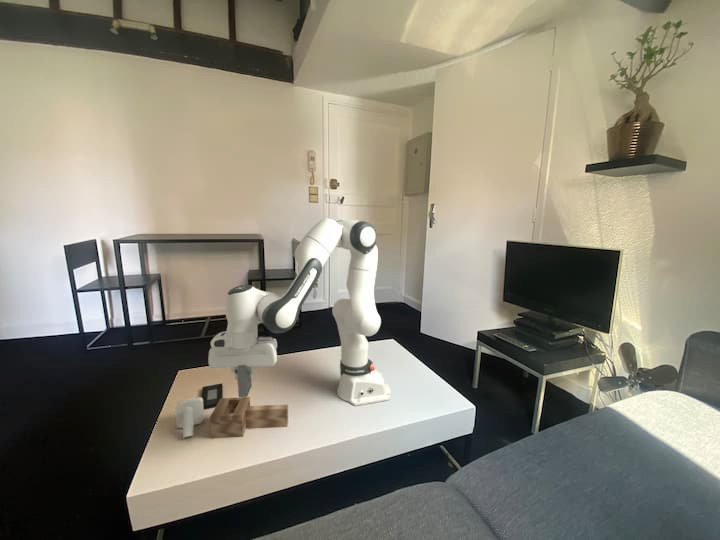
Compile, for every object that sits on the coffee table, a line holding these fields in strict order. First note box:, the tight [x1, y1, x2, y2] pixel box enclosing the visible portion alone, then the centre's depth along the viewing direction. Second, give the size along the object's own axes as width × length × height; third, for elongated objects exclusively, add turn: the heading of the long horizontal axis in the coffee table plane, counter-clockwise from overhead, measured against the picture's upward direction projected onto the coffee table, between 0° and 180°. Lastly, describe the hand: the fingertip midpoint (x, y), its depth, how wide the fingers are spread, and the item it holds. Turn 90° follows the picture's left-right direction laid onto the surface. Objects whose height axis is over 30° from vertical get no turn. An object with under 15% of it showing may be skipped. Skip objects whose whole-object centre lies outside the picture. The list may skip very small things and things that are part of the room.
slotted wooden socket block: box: [209, 396, 289, 439], centre depth 104 cm, size 24×10×8 cm, turn 95°
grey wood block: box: [236, 365, 252, 398], centre depth 95 cm, size 2×6×10 cm, turn 6°
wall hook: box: [175, 396, 205, 439], centre depth 102 cm, size 8×10×10 cm
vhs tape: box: [201, 382, 224, 410], centre depth 120 cm, size 8×14×2 cm, turn 25°
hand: (244, 378), depth 95 cm, fingers closed on grey wood block, 2 cm apart
